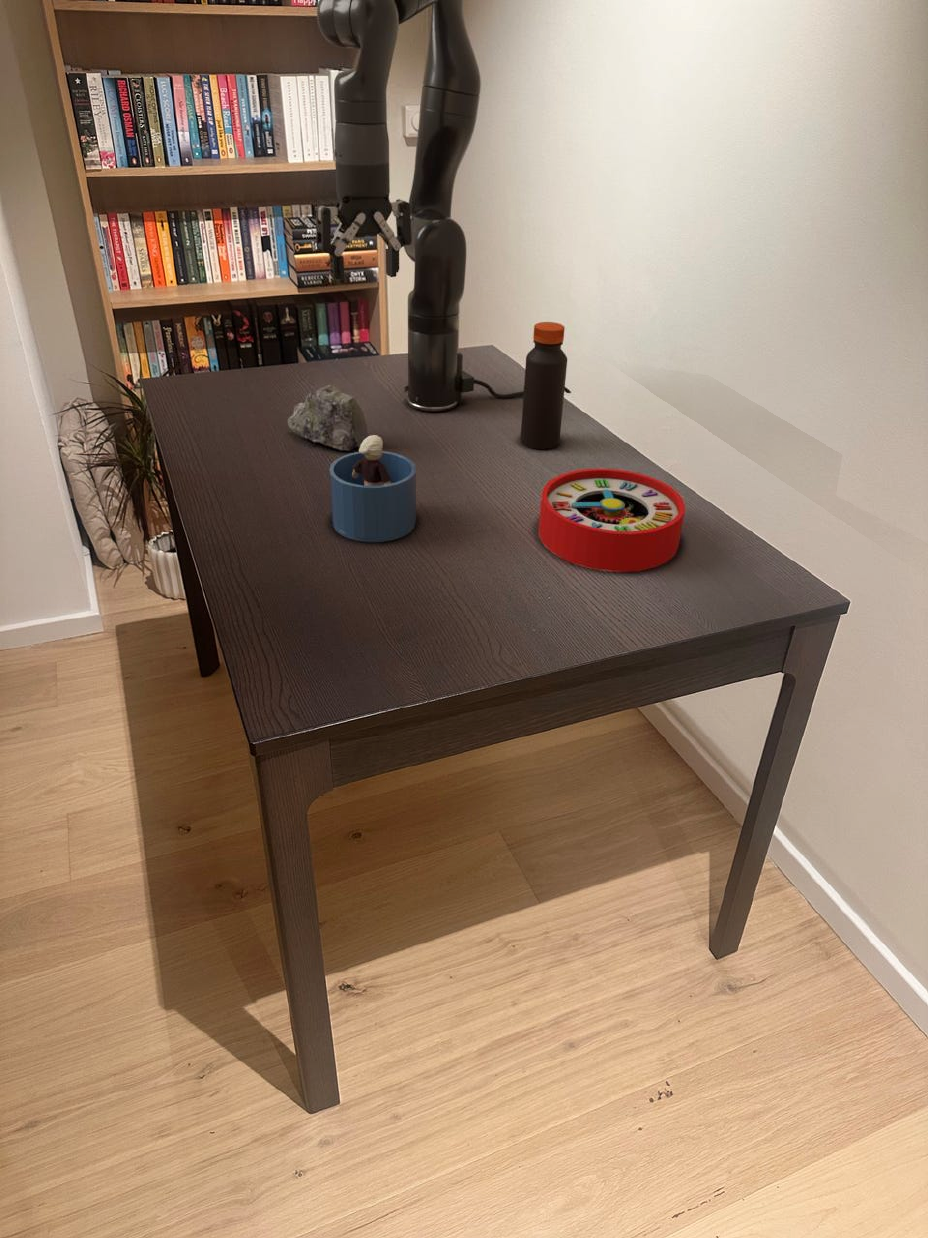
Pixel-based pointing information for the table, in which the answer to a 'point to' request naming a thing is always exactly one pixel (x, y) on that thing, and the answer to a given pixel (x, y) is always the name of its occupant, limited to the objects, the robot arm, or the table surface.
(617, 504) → the toy clock
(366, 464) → the grandmother figurine
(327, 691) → the table surface
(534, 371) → the bottle
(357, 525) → the bowl
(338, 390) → the mineral rock
